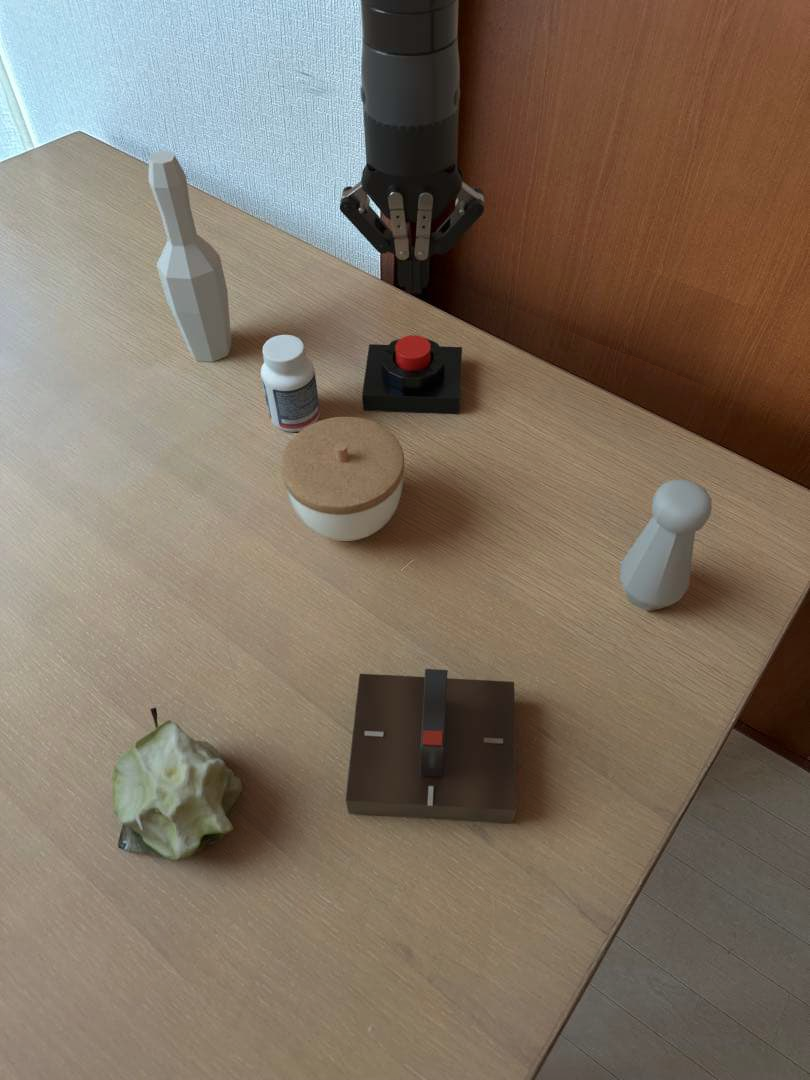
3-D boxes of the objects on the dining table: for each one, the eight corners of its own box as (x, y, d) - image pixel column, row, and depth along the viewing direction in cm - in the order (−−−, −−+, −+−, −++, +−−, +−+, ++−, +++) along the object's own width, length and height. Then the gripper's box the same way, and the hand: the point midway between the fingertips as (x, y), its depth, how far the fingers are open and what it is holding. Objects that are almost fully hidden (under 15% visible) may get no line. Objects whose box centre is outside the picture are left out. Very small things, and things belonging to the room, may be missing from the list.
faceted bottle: (184, 371, 90) (127, 180, 73) (179, 335, 94) (125, 144, 77) (242, 362, 91) (200, 170, 74) (235, 326, 95) (194, 135, 77)
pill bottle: (331, 414, 86) (322, 346, 79) (293, 441, 84) (281, 374, 77) (296, 390, 88) (285, 322, 81) (259, 416, 86) (244, 348, 79)
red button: (431, 348, 87) (431, 335, 85) (429, 372, 84) (429, 358, 83) (397, 347, 87) (396, 334, 85) (394, 371, 85) (394, 357, 83)
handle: (424, 699, 63) (425, 666, 59) (445, 701, 63) (447, 667, 59) (420, 776, 59) (420, 746, 55) (442, 777, 59) (444, 748, 55)
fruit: (139, 758, 65) (125, 696, 60) (257, 773, 65) (254, 712, 60) (97, 871, 58) (77, 812, 53) (228, 888, 58) (222, 831, 53)
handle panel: (510, 697, 66) (514, 679, 64) (512, 825, 60) (516, 810, 58) (361, 689, 67) (359, 671, 65) (348, 815, 61) (345, 800, 58)
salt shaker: (616, 559, 74) (648, 460, 64) (681, 569, 74) (724, 471, 63) (612, 613, 71) (645, 518, 61) (681, 624, 70) (726, 530, 60)
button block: (461, 362, 91) (462, 333, 87) (459, 414, 86) (460, 385, 83) (370, 359, 91) (368, 330, 88) (363, 410, 86) (360, 381, 83)
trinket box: (377, 459, 82) (372, 388, 75) (425, 536, 76) (425, 467, 69) (275, 495, 80) (260, 425, 72) (316, 578, 74) (304, 511, 66)
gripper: (496, 77, 66) (484, 266, 80) (332, 76, 67) (348, 263, 81) (496, 123, 62) (483, 314, 76) (320, 121, 63) (339, 311, 76)
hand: (413, 287), depth 78 cm, fingers closed
